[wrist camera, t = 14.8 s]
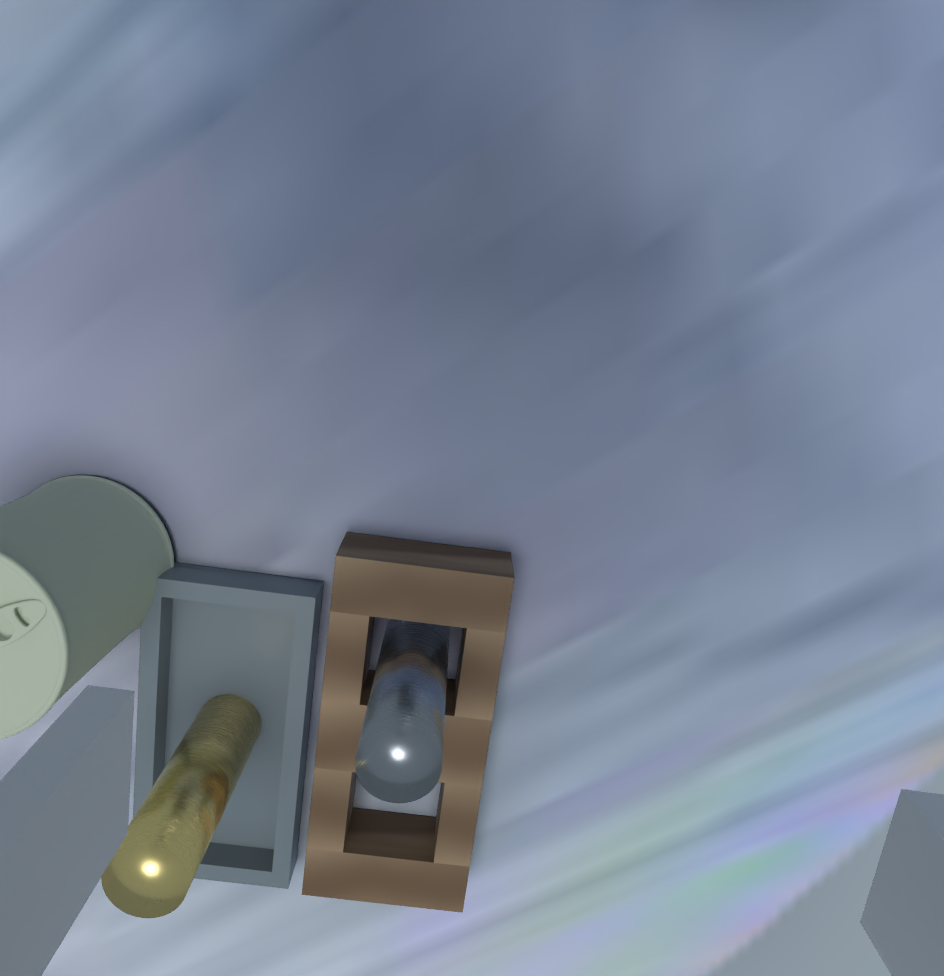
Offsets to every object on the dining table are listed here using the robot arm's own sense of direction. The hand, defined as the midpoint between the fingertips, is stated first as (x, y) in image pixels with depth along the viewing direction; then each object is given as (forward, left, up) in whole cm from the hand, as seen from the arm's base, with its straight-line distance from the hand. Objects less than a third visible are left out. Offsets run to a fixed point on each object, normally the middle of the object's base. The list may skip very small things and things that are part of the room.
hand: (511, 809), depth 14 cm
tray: (+18, -12, -32) cm, 38 cm away
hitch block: (+16, -2, -32) cm, 35 cm away
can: (+9, -20, -32) cm, 39 cm away
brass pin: (+18, -12, -31) cm, 38 cm away
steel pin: (+11, -2, -32) cm, 34 cm away
